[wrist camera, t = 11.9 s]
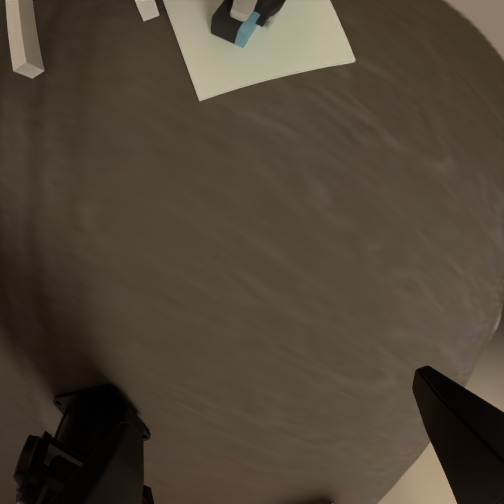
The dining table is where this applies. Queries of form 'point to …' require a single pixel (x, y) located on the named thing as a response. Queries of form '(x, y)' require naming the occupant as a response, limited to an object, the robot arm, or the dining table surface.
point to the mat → (257, 45)
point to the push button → (243, 18)
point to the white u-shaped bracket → (26, 37)
